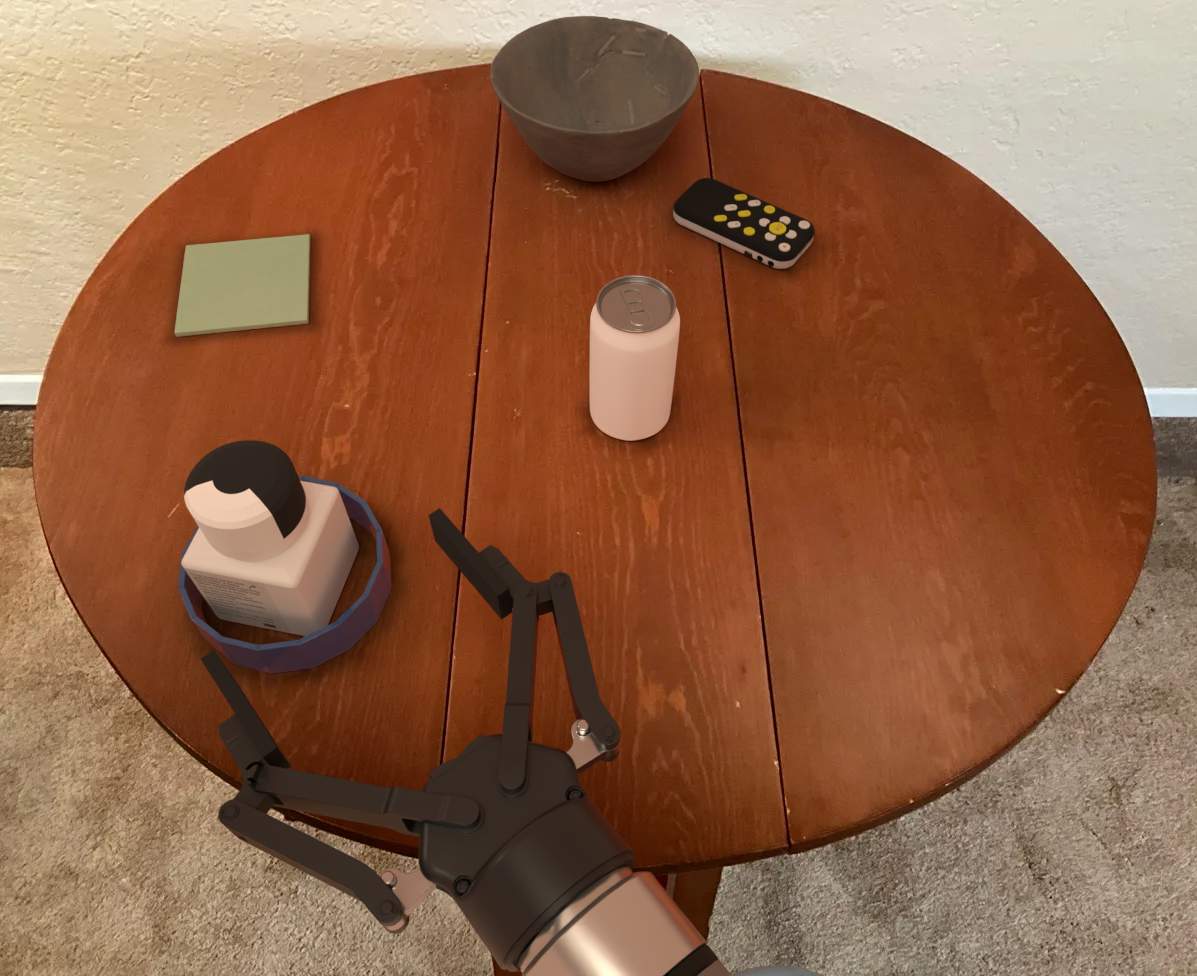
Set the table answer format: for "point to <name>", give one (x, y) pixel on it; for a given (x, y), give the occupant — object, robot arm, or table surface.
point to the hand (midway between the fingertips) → (331, 591)
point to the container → (266, 539)
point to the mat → (244, 285)
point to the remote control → (744, 223)
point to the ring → (320, 642)
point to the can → (633, 357)
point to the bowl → (594, 92)
